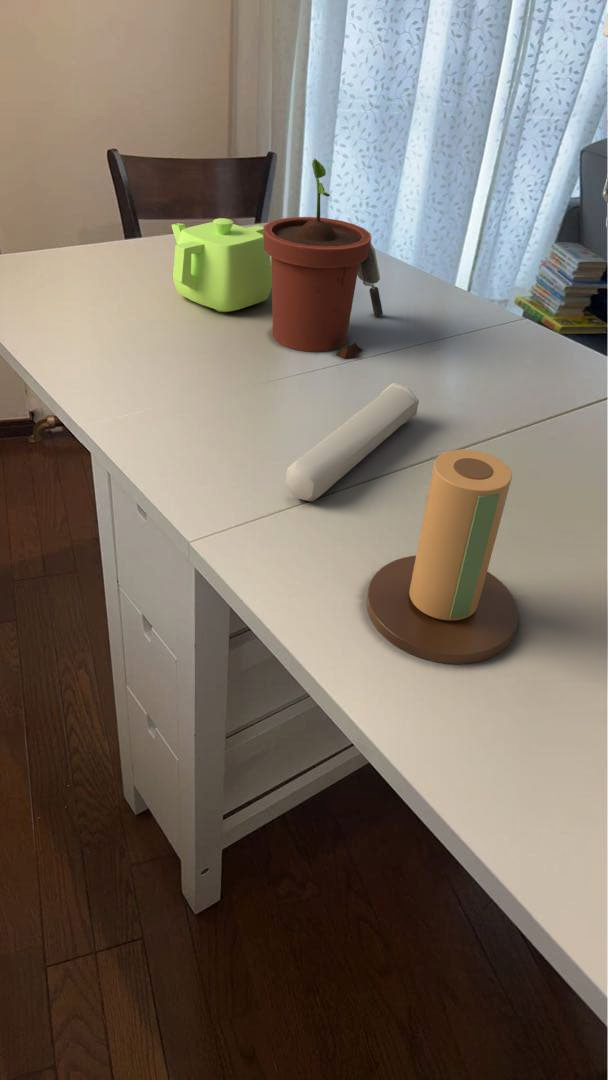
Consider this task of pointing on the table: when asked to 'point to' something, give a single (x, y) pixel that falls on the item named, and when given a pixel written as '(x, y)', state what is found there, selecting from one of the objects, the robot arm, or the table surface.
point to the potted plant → (318, 278)
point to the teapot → (221, 265)
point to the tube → (350, 442)
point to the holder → (436, 636)
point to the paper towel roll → (458, 533)
